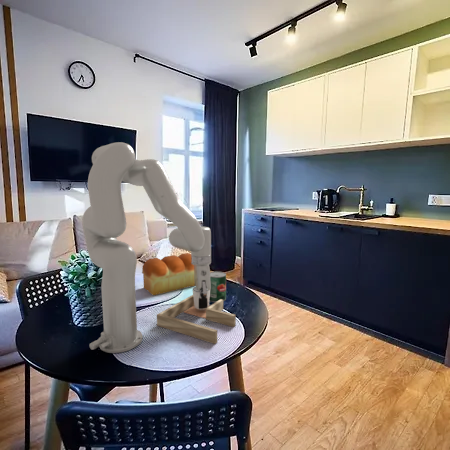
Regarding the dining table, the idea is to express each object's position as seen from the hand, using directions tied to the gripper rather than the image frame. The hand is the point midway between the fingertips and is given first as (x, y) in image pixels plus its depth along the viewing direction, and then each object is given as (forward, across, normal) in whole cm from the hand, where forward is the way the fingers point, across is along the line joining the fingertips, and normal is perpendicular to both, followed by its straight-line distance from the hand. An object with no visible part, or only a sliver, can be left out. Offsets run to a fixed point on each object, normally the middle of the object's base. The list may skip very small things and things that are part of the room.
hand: (201, 304), depth 110 cm
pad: (+3, 0, 0) cm, 3 cm away
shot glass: (+1, 0, 0) cm, 1 cm away
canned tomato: (+3, +10, -9) cm, 13 cm away
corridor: (+3, -8, +1) cm, 8 cm away
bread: (+3, +31, +8) cm, 32 cm away
